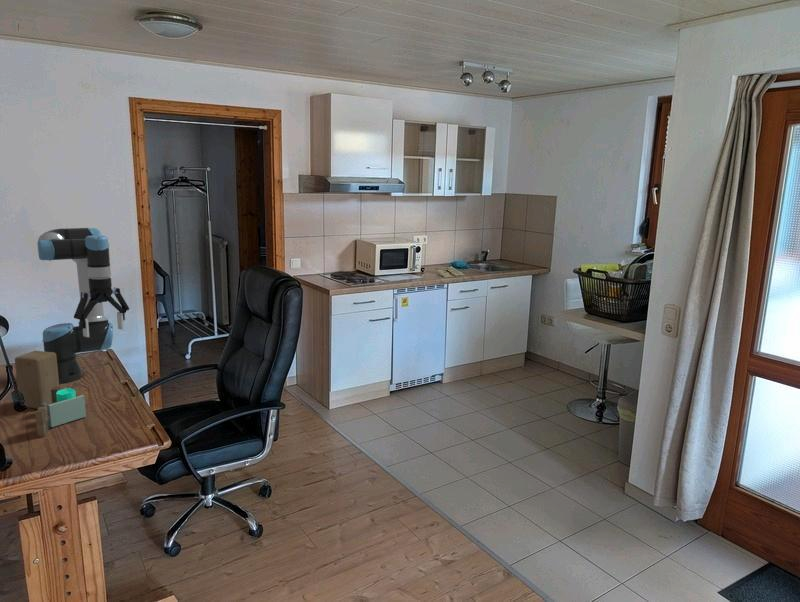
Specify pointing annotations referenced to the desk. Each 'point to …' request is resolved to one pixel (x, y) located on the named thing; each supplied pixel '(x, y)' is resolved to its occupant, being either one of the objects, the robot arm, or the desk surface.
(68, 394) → the candle
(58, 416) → the sage green plank
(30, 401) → the wooden block
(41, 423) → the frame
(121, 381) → the desk surface
